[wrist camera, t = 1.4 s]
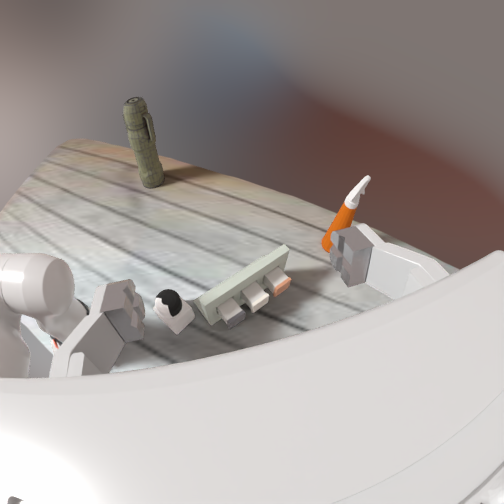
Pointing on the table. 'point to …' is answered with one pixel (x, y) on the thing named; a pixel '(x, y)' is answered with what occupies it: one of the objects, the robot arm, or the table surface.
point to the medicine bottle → (173, 310)
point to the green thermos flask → (143, 141)
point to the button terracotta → (276, 281)
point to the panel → (240, 283)
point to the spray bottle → (345, 213)
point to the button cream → (254, 296)
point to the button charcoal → (231, 312)
